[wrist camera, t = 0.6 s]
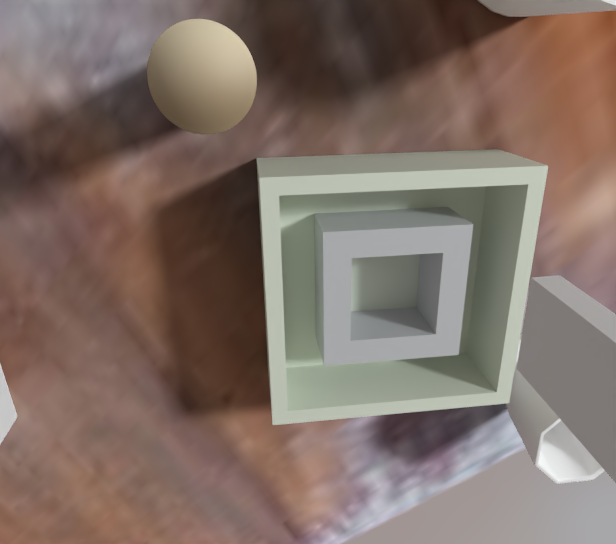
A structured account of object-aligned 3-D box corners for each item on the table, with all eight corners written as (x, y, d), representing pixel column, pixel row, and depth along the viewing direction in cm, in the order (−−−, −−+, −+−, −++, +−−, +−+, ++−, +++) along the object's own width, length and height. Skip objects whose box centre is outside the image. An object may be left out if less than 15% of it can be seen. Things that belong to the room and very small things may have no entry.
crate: (256, 158, 32) (259, 177, 26) (497, 149, 33) (548, 165, 28) (268, 372, 38) (272, 425, 32) (471, 356, 40) (509, 403, 34)
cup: (493, 424, 42) (546, 500, 35) (460, 331, 39) (512, 395, 31) (571, 391, 42) (641, 460, 35) (546, 294, 38) (618, 349, 31)
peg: (179, 36, 29) (139, 19, 18) (249, 36, 29) (253, 18, 18) (187, 110, 30) (154, 136, 19) (253, 108, 31) (259, 132, 20)
